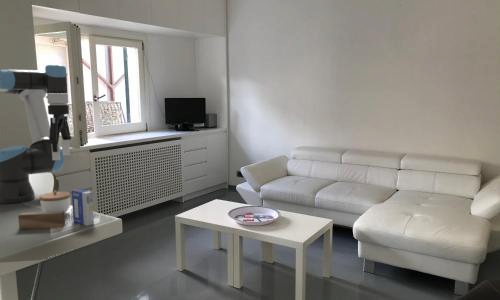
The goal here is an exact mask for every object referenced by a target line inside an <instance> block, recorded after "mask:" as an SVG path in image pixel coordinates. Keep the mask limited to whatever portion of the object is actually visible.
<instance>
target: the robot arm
mask: <svg viewBox="0 0 500 300" xmlns="http://www.w3.org/2000/svg"><path fill="white" fill-rule="evenodd" d="M44 68H45V71H44V70H43V71H42V70H38V69H37V70H36V69H14V68H13V69H11V68H10V69H9V68H3V69H0V94H1V93H2V94H7V95H8V94H9V95H18V97H19V99H20V100H21V101H23V102H24V103H23V104H24V107H25V108H24V110H25V113H26V118H27V124H28V128H29V133H30V137H31V141H32V142H31V144H30V145H29V148H28V147H27V145H24V144H23V145H14V146H8V147H4V148H1V149H0V204H1V205H2V204H3V205H4V204H6V205H7V204H8V205H9V204H17V203H24V202H28V201H31V200H33V199H35V198H36V197H35V195H36V194H35V191H34V188H33V186H32V184H31V182H30V175H36V174H44V173H45V174H46V173H53V172H59V171H60V170H62V169H63V166H64V163H65V156H71V155H70V154H71V152H70V151H71V149H70V140H71V139H72V137H71V133H70V128H69V123H68V116H66V115H68V114H70V108H69V107H70V106H69V93H68V78H67V76H68V73H67V67H66V66H65V65H63V64H47V65H46V66H45V67H44ZM44 98H45V99H47V104H48V105H47V108H46V104H45V100H44ZM47 113H48V114H47ZM48 115H53V116H52V117H50V118H49V117H48ZM49 119H50V120H49ZM49 121H50V122H49ZM60 136H61V138H62V139H61V145H60V143H59V141H60V140H59V139H60Z"/></svg>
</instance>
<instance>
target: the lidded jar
mask: <svg viewBox="0 0 500 300" xmlns="http://www.w3.org/2000/svg"><path fill="white" fill-rule="evenodd" d="M71 201H72V193H70V192H68V191H57V190H53V191H52V192H46V193H43V194H41V195H40V196H39V202H40V208H41V209H42V212H53V211H64V213H65V214H66V213H67V212H68V210H69V208H70V207H71Z"/></svg>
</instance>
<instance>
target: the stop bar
mask: <svg viewBox="0 0 500 300" xmlns="http://www.w3.org/2000/svg"><path fill="white" fill-rule="evenodd" d="M17 216H18V229H19V230H21V231H22V230H35V229H37V230H38V229H56V228H57V229H58V228H64V226H66V213H64V211H53V212H44V211H38V212H20V214H18V215H17Z"/></svg>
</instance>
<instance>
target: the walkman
mask: <svg viewBox="0 0 500 300" xmlns="http://www.w3.org/2000/svg"><path fill="white" fill-rule="evenodd" d="M71 201H72V203H71V204H72V215H73V216H72V219H73V223H75V224H79V225H83V226H86V227H87V226H91V225H94V224H95V221H94V220H95V218H94V217H95V215H94V204H93V202H94V201H93V192H92V191H91V190H90V191H89V190H82V189H79V188H78V189H73V190H71Z"/></svg>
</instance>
